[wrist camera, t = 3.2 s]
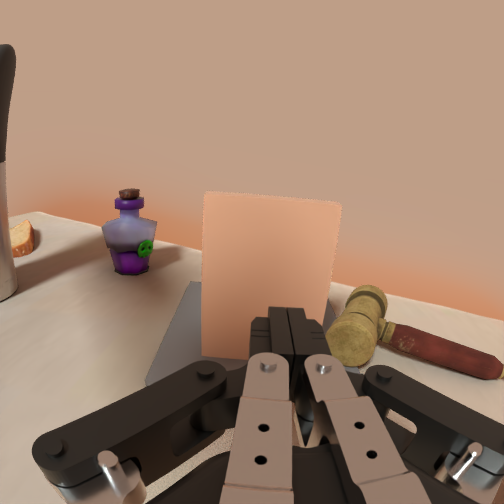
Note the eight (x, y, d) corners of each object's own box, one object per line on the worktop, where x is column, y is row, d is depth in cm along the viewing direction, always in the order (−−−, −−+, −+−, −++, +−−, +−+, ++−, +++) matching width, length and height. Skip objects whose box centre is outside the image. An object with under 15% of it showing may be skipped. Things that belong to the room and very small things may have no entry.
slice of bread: (21, 261, 44) (18, 240, 43) (-35, 254, 43) (-38, 237, 42) (67, 233, 61) (65, 217, 60) (12, 231, 60) (10, 216, 59)
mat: (145, 385, 23) (144, 380, 23) (190, 285, 42) (190, 281, 42) (365, 397, 23) (367, 392, 23) (323, 294, 42) (324, 290, 42)
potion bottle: (142, 284, 41) (140, 194, 37) (93, 274, 42) (88, 192, 38) (168, 263, 49) (169, 187, 45) (123, 256, 50) (121, 184, 46)
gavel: (512, 334, 25) (532, 384, 17) (494, 367, 27) (506, 421, 18) (355, 278, 34) (331, 314, 25) (344, 313, 35) (317, 356, 27)
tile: (201, 355, 27) (204, 193, 22) (204, 344, 28) (207, 190, 24) (314, 362, 27) (342, 205, 22) (311, 351, 28) (336, 201, 24)
